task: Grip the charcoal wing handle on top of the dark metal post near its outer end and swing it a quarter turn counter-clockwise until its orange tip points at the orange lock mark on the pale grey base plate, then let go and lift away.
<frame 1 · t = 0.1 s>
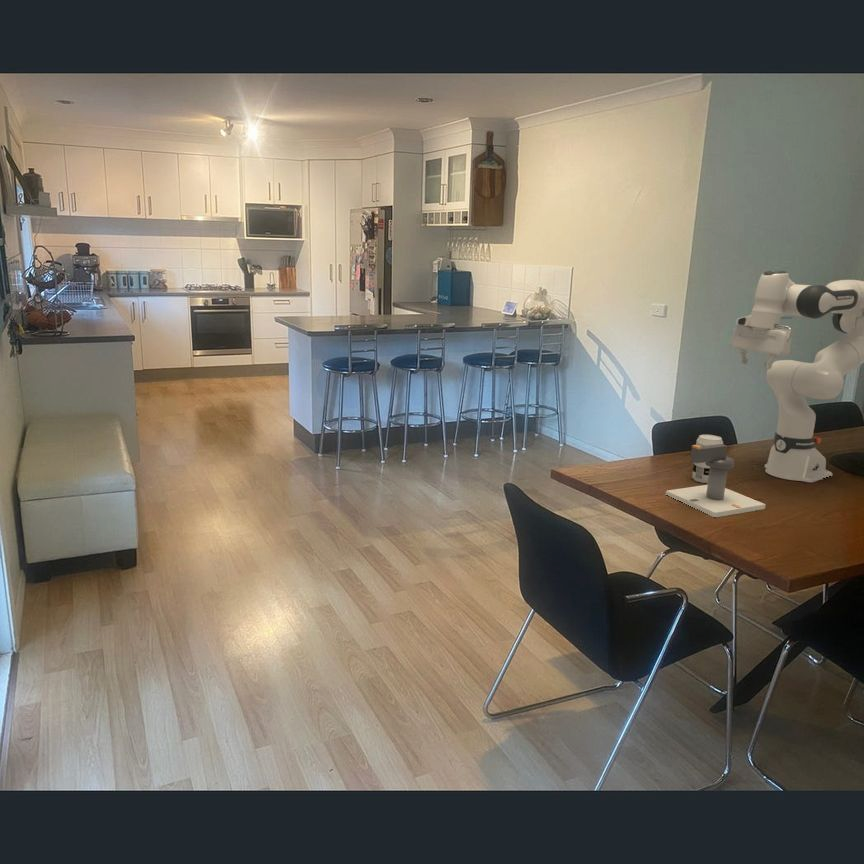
hand: (755, 366, 223), 39 cm above the table, tool pointing down, fingers open, 8 cm apart
twist knob: (712, 455, 208), point 15 cm above the table, hinge at 0.0°
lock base: (714, 501, 213), on the table
supplement can: (704, 481, 234), on the table
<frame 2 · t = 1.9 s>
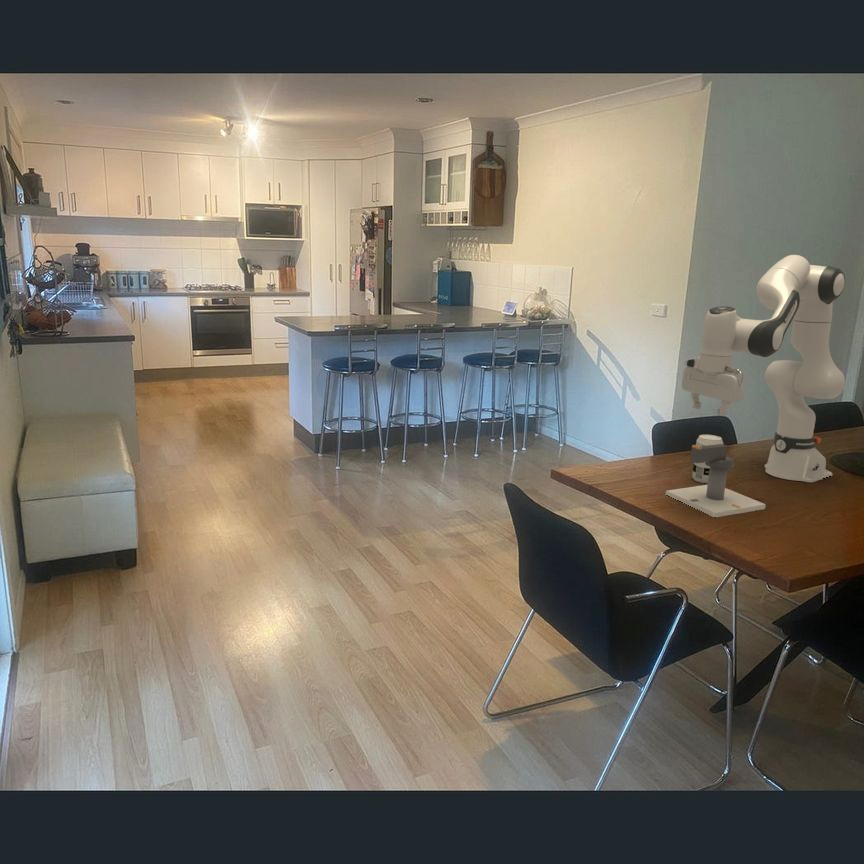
hand: (708, 411, 203), 29 cm above the table, tool pointing down, fingers open, 8 cm apart
nothing on the table moved.
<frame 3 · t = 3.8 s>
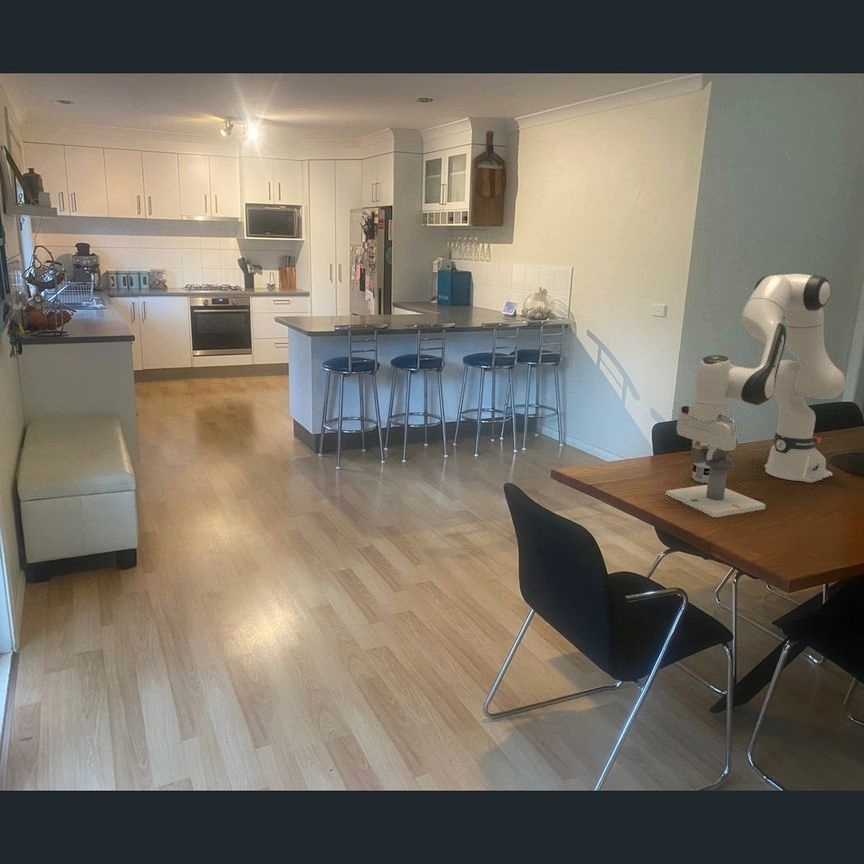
hand: (702, 457, 207), 15 cm above the table, tool pointing down, fingers closed on twist knob, 2 cm apart
twist knob: (712, 455, 208), point 15 cm above the table, hinge at 0.0°, touching gripper
everything else where it was.
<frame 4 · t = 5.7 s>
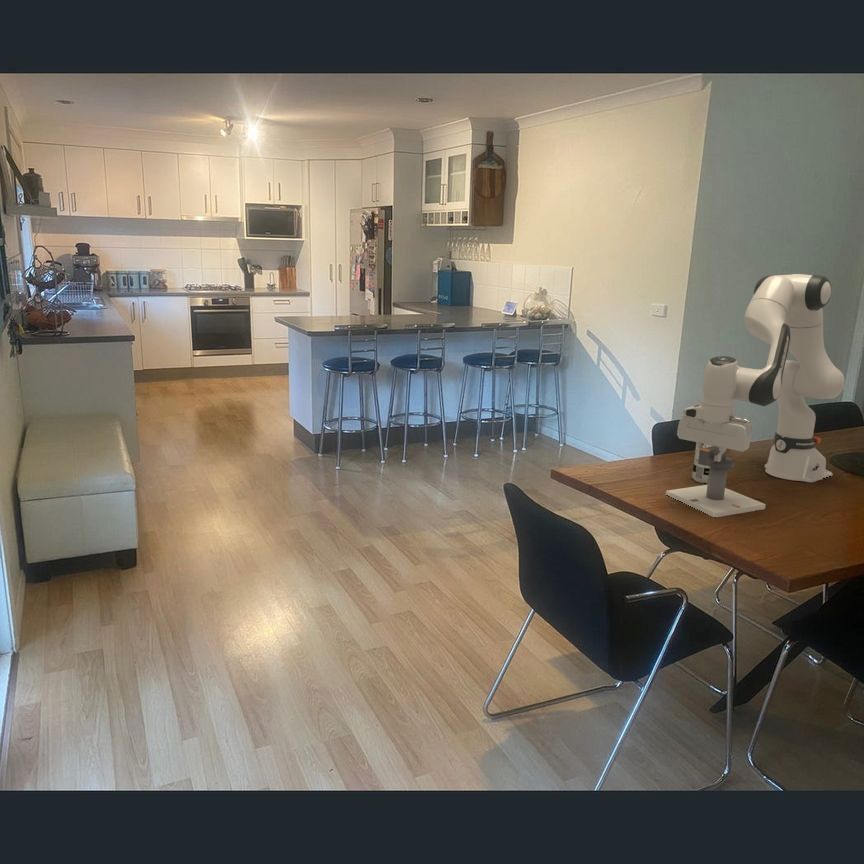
hand: (709, 459, 205), 15 cm above the table, tool pointing down, fingers open, 3 cm apart
twist knob: (715, 456, 207), point 15 cm above the table, hinge at 16.3°, touching gripper
everything else where it was.
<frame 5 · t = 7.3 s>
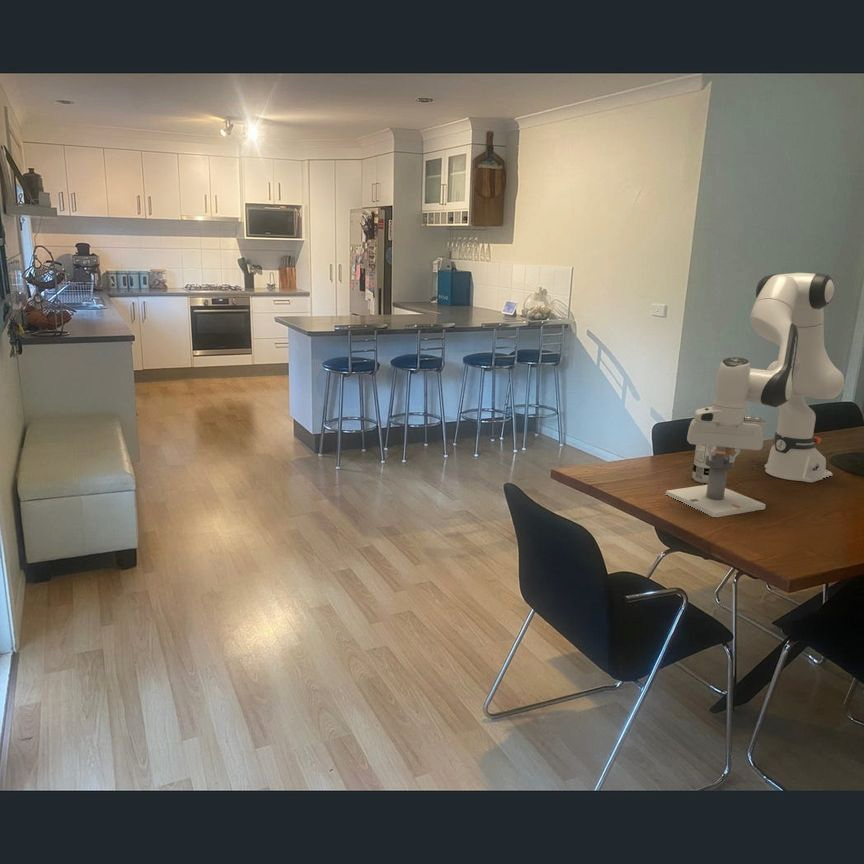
hand: (721, 461, 203), 15 cm above the table, tool pointing down, fingers open, 4 cm apart
twist knob: (720, 456, 207), point 15 cm above the table, hinge at 41.2°, touching gripper
everything else where it was.
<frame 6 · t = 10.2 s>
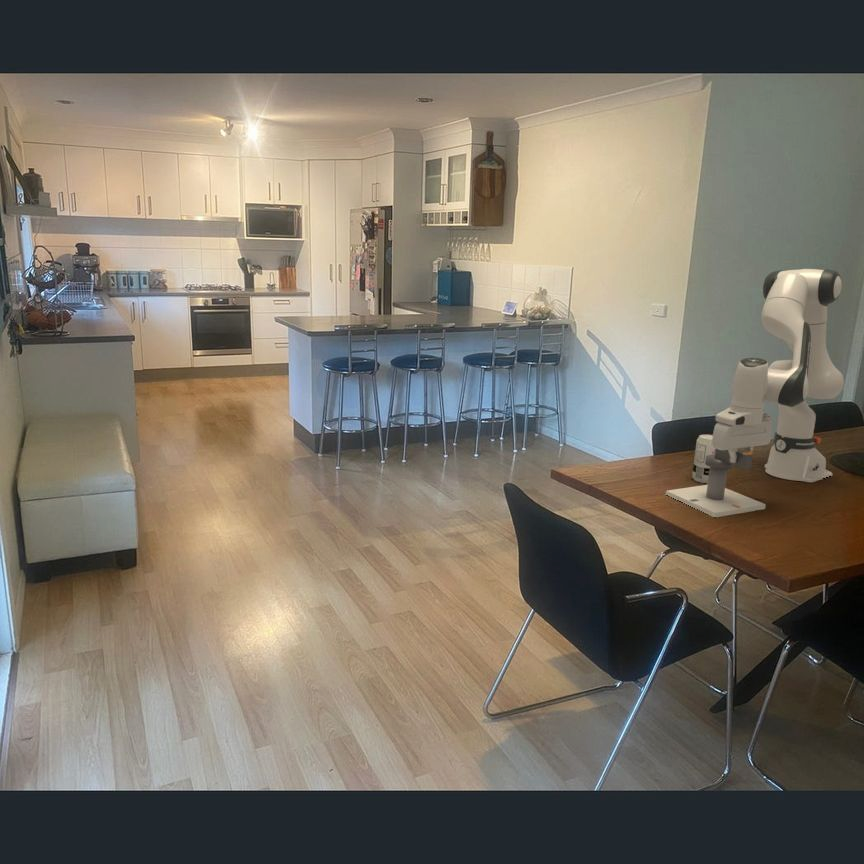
hand: (739, 461, 203), 15 cm above the table, tool pointing down, fingers open, 3 cm apart
twist knob: (728, 457, 207), point 15 cm above the table, hinge at 88.4°, touching gripper
everything else where it was.
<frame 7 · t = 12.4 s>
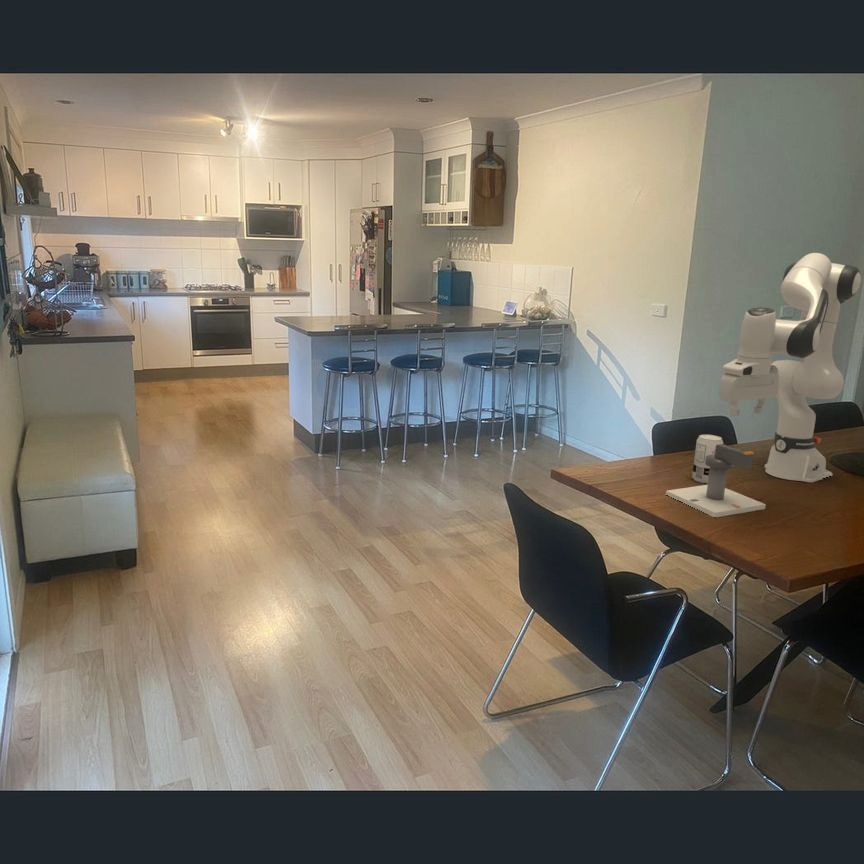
hand: (746, 414, 200), 29 cm above the table, tool pointing down, fingers open, 8 cm apart
twist knob: (729, 457, 207), point 15 cm above the table, hinge at 90.6°
everything else where it was.
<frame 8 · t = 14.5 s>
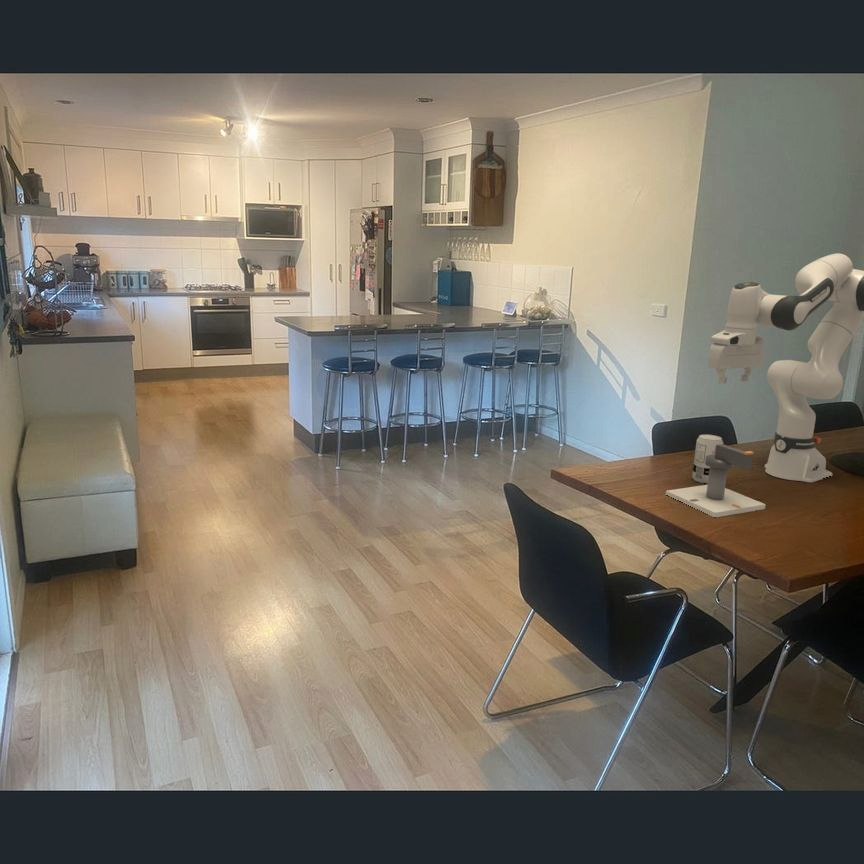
hand: (733, 382, 215), 35 cm above the table, tool pointing down, fingers open, 8 cm apart
nothing on the table moved.
at the end: twist knob at +91° (first picture: +0°); the gripper is holding nothing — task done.
